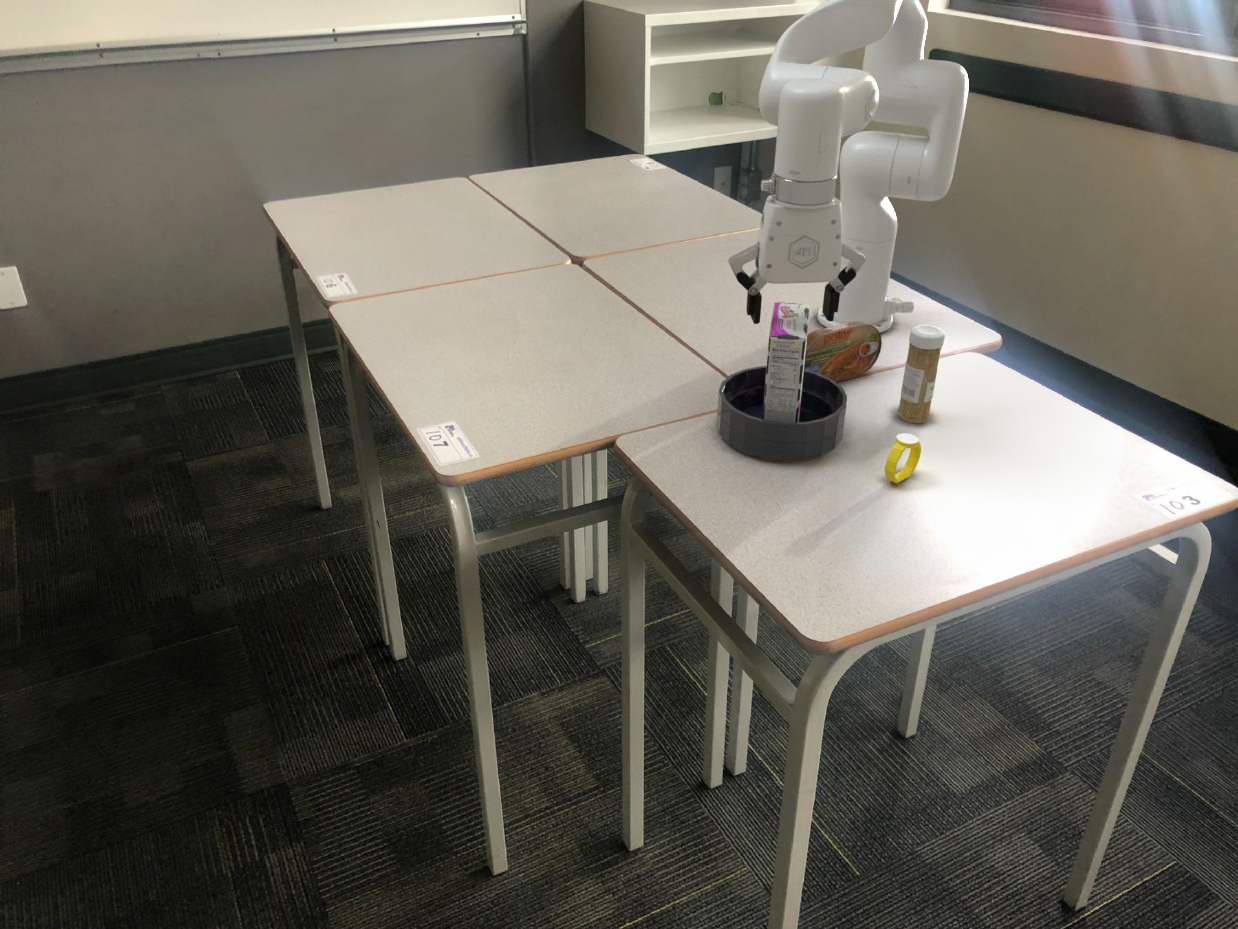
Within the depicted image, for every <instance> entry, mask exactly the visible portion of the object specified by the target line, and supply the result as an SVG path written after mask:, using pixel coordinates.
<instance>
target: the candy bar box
mask: <svg viewBox="0 0 1238 929" xmlns="http://www.w3.org/2000/svg"><path fill="white" fill-rule="evenodd" d="M809 318H810V304H805V303H794V302H792V303H791V302H784V301H779V302H774V304H773V308H772V316H771V320H770V321H771V322H770V328H769V334H768V346H767V357H766V366H767V368H766V381H765V393H764V407H763V419H764V420H767V421H776V422H784V423H794V422H799V412H800V403H801V393H802V383H803V374H804V363H805V353H806V343H807V335H808V334H809V333H808V331H809Z"/></svg>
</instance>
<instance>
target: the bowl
mask: <svg viewBox="0 0 1238 929" xmlns="http://www.w3.org/2000/svg"><path fill="white" fill-rule="evenodd" d="M766 368H767V365H760V366H754V367H750V368H749V367H748V368H744V369H741V370H739V371H736V372H733V373H732V374H729V375H728V376H727V377H726V378H725V379H724V380H722V381H721V383H720V386H719V389H718V395H717V396H718V397H717V410H716V411H717V413H716V428H717V431H718V434H719V436H720V437H721V438H722V439H723V440H724V441H725V442H726V443H727V444H728V445H729V446H731V447H733V448H735V449H737V450H739V451H740V452H742V453H745V454H747V455H749V456H753V457H757V458H761V459H764V460H771V461H781V462H796V461H803V460H804V461H805V460H808V459H813V458H816V457H817V458H818V457H822V456H823V455H825V454H827V453H829V452H832V451H833V450H835V449H836V447H837V446H838V445H839V444H840V443H841V442H842V440H843V435H844V434H843V433H844V426H845V420H846V414H847V413H846V412H847V407H848V395H847V393H846V391H845V389H844V388H843V387H842V386H841V385H840V384H839V383H838V382H835V381H834V380H832V379H830V378H828V377H826V376H824V375H821V374H819V373H817V372H813V371H809V370H805V369H804V374H803V383H802V393H801V403H800V412H799V422H794V423H784V422H776V421H767V420H764V419H763V407H764V393H765V381H766Z"/></svg>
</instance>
